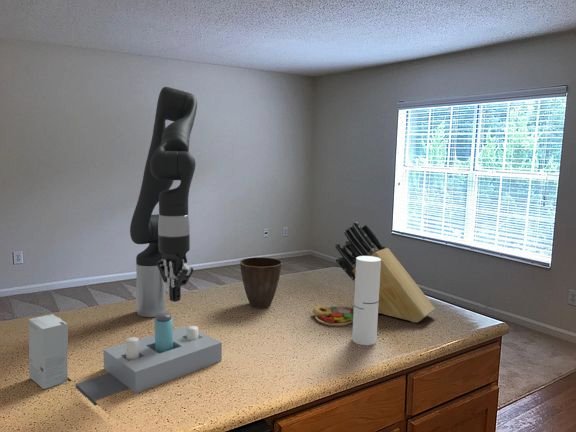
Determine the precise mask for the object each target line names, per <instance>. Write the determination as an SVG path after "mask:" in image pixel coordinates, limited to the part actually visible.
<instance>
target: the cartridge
mask: <svg viewBox="0 0 576 432" xmlns="http://www.w3.org/2000/svg"><path fill="white" fill-rule="evenodd" d="M173 329H174V318H173V316H172V314H171V313H169V312H165V313H160V314H157V315H156V317H155V318H154V335H155V351H156V352H158V353H159V354H160V353H163V352H166V351H169V350H172V349H173Z"/></svg>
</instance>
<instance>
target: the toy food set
mask: <svg viewBox="0 0 576 432" xmlns="http://www.w3.org/2000/svg"><path fill="white" fill-rule="evenodd" d="M312 314H314V318H315V319H316V320H317V322H318V323H320V324H322V325H325V326H331V327H344V326H347V325H350V324H351V323H353V311H352V310H351V309H349V308H346V307H345V308H339V307H337V306H335V307H330V308H329V307H327V306H324V305H317V306H315V307H313V309H312Z"/></svg>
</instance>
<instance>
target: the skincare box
mask: <svg viewBox="0 0 576 432" xmlns="http://www.w3.org/2000/svg"><path fill="white" fill-rule="evenodd" d="M68 331H69V330H68V323H67V322H66V321H64V320H63V319H62V318H60V317H58V316H56V315H55V314H52V313H51V314H47V315H42V316H37V317H32V318H29V319H28V352H29V353H28V355H29V356H28V362H29V363H28V367H29V368H28V369H29V370H28V372H29V379H31V380H32V381H34V383H36V384H37V385H38V386H39V387H40V388H41V389H42V390H46V389H50V388H52V387H54V386H58V385H61V384H64V383H67V382H68V381H69V380H68V378H69V377H68V372H69V371H68V369H69V368H68V361H69V360H68V355H69V354H68V344H69V343H68V341H69V340H68V337H69V336H68V333H69V332H68Z"/></svg>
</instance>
